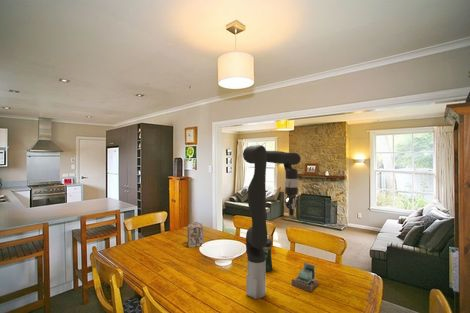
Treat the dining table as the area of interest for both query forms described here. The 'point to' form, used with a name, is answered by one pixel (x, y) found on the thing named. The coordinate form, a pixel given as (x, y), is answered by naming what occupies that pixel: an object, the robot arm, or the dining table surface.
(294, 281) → the bay
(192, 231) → the decorative jar
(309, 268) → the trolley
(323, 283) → the dining table surface
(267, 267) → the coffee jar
